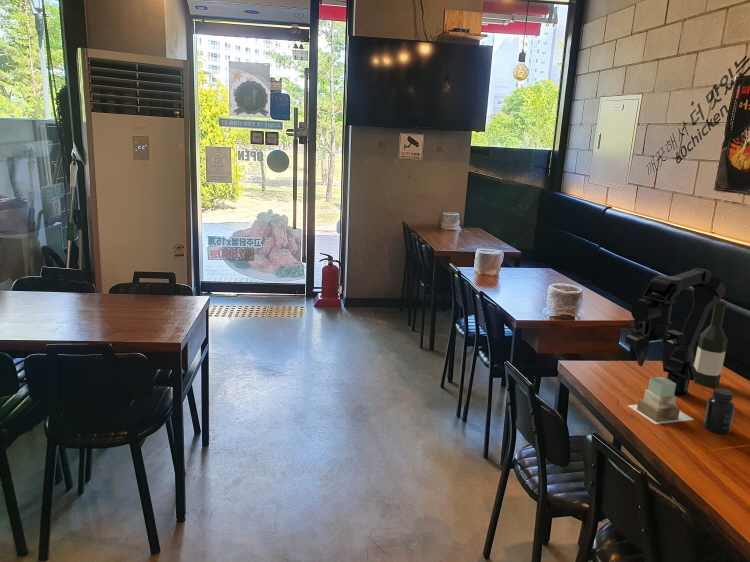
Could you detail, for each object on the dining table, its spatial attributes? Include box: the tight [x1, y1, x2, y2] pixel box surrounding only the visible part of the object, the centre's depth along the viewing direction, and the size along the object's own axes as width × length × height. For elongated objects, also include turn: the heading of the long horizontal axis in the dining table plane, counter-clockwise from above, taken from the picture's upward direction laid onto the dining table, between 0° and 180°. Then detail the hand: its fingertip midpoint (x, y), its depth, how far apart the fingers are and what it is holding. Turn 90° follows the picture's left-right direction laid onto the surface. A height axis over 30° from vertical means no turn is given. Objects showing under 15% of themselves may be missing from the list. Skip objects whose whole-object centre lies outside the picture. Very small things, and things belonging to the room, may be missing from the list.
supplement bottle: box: [703, 388, 736, 436], centre depth 161 cm, size 7×7×12 cm
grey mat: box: [627, 403, 695, 425], centre depth 171 cm, size 14×12×1 cm
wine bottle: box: [692, 298, 729, 388], centre depth 193 cm, size 8×8×30 cm
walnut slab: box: [636, 398, 681, 422], centre depth 170 cm, size 8×8×4 cm
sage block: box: [647, 376, 676, 397], centre depth 168 cm, size 5×5×4 cm
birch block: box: [643, 389, 678, 409], centre depth 169 cm, size 6×6×4 cm
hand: (652, 364), depth 176 cm, fingers open, 9 cm apart
